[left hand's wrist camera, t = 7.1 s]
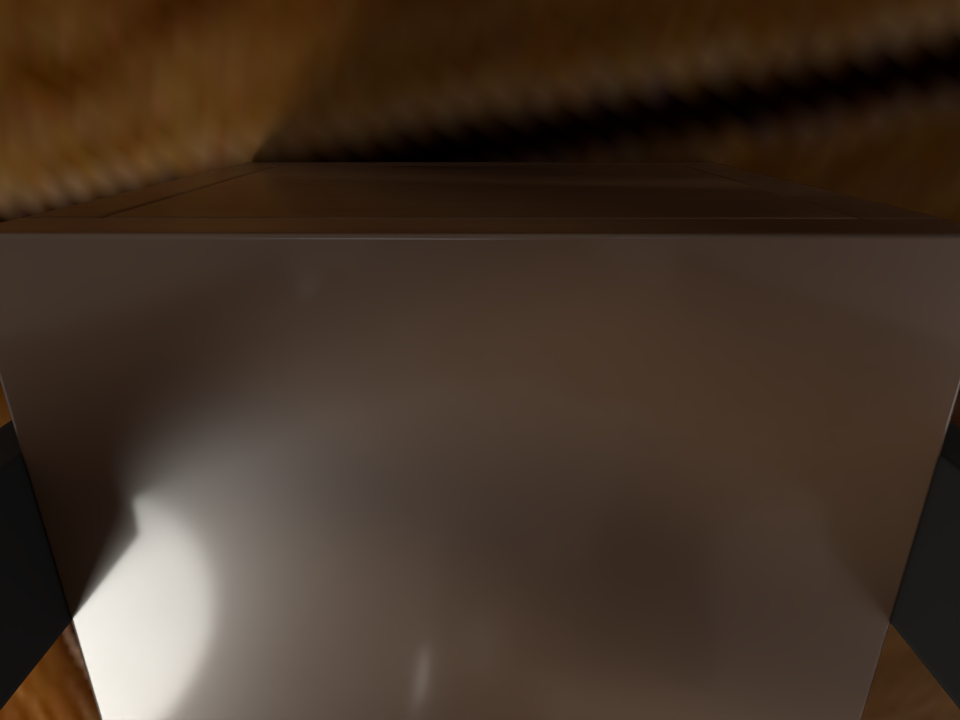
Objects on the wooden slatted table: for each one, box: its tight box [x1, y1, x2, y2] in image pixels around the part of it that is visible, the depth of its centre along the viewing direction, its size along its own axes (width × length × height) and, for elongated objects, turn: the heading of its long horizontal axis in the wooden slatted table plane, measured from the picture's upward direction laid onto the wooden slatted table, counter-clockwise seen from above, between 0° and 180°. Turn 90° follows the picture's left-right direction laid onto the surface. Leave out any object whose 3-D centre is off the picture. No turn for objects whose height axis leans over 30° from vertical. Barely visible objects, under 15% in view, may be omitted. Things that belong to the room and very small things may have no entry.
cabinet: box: [0, 162, 960, 720], centre depth 15 cm, size 20×12×10 cm, turn 0°
